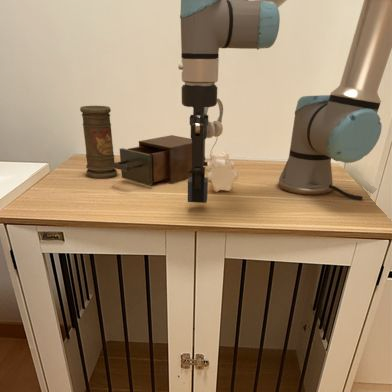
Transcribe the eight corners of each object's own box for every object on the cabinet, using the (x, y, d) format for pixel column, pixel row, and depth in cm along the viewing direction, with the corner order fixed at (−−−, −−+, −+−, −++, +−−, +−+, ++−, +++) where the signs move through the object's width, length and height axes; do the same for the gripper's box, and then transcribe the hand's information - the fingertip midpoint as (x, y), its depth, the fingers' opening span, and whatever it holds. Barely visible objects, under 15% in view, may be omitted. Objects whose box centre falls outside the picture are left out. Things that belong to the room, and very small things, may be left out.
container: (80, 175, 123) (71, 107, 113) (99, 169, 130) (92, 104, 119) (104, 180, 120) (97, 110, 109) (123, 173, 126) (117, 106, 116)
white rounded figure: (237, 193, 113) (240, 162, 108) (206, 193, 113) (207, 161, 108) (232, 179, 125) (234, 150, 120) (203, 178, 125) (204, 149, 120)
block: (207, 197, 101) (208, 177, 98) (206, 202, 97) (207, 182, 94) (188, 196, 101) (189, 176, 98) (187, 202, 97) (187, 182, 94)
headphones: (214, 165, 138) (217, 96, 126) (223, 167, 136) (227, 97, 124) (198, 169, 133) (200, 98, 121) (207, 172, 131) (210, 99, 119)
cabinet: (170, 183, 119) (170, 147, 114) (140, 175, 125) (138, 141, 120) (201, 174, 128) (203, 140, 123) (172, 167, 135) (171, 135, 129)
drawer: (133, 190, 110) (131, 158, 105) (105, 181, 116) (102, 151, 111) (181, 176, 122) (181, 148, 118) (153, 169, 128) (152, 142, 123)
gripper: (184, 80, 92) (185, 187, 106) (177, 87, 78) (179, 210, 92) (218, 80, 92) (214, 188, 106) (216, 88, 77) (212, 210, 92)
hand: (198, 198), depth 99 cm, fingers closed on block, 5 cm apart
